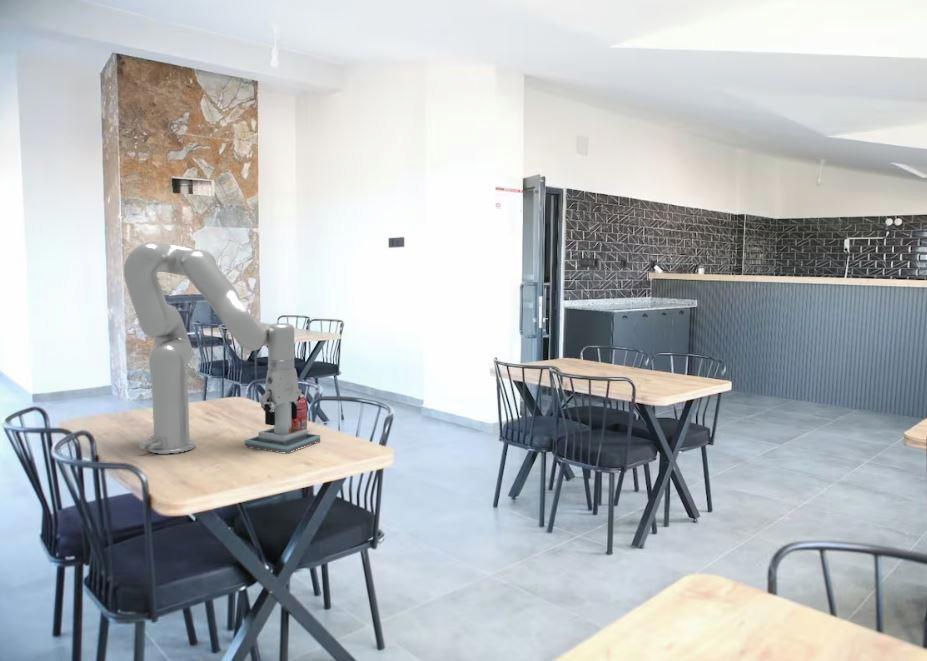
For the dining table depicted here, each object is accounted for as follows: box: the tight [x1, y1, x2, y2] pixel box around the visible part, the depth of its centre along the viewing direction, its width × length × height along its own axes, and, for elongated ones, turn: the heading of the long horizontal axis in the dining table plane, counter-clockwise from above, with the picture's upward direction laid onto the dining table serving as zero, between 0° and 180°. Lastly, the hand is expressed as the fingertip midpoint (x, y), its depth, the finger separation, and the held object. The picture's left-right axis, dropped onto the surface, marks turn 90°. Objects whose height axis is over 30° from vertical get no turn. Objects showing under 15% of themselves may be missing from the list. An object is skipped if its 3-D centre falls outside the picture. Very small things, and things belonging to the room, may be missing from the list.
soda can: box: [292, 393, 308, 430], centre depth 216 cm, size 7×7×12 cm
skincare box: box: [273, 402, 292, 435], centre depth 202 cm, size 6×4×12 cm
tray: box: [244, 427, 321, 454], centre depth 202 cm, size 15×16×4 cm
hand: (281, 421), depth 202 cm, fingers open, 9 cm apart
